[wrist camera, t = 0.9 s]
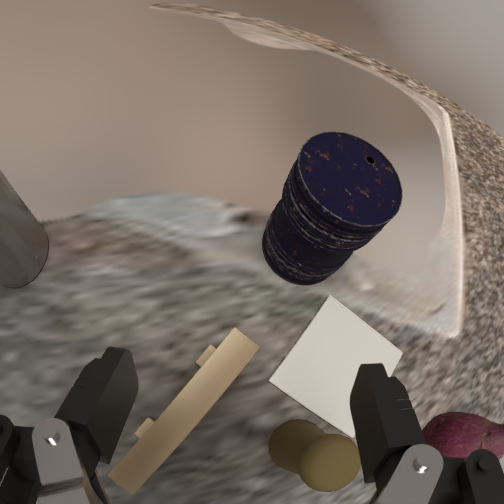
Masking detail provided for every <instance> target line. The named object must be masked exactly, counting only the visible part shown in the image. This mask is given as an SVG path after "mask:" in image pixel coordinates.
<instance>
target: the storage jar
mask: <svg viewBox="0 0 504 504" xmlns="http://www.w3.org/2000/svg"><path fill="white" fill-rule="evenodd" d="M401 203H402V187H401V183H400V179H399V177H398V175H397V172H396V170H395V169H394V167H393V166H392V164H391V163H390V161H389V160H388V159H387V158H386V157H385V156H384V155H383V154H382V153H381V152H380V151H379V150H378V149H377V148H376V147H374V146H373V145H371V144H370V143H368V142H366V141H365V140H363V139H361V138H359V137H357V136H354V135H351V134H347V133H343V132H324V133H320V134H317V135H315V136H313V137H311V138H310V139H309V140H307V141H306V142H305V144H304V145H303V147H302V149H301V151H300V153H299V155H298V158H297V160H296V162H295V163H294V164H293V166H292V168H291V170H290V173H289V175H288V178H287V180H286V182H285V184H284V188H283V193H282V199H281V200H280V201H279V202H278V204H277V205H276V207H275V209H274V210H273V212H272V214H271V216H270V218H269V220H268V223H267V227H266V229H265V232H264V235H263V240H262V248H263V253H264V256H265V259H266V261H267V263H268V264H269V266H270V267H271V269H272V270H273V271H274V272H275V273H276V274H277V275H278V276H280V277H281V278H283V279H284V280H286V281H288V282H290V283H293V284H297V285H313V284H317V283H319V282H321V281H323V280H325V279H326V278H327V277H328V276H329V275H331V274H333V273H334V272H336V271H337V270H338V269H339V268H340V267H341V266H342V265H343V264H344V263H345V261H347V260H348V259H349V257H350V256H351V255H352V253H353V251H355V250H357V249H359V248H361V247H363V246H364V245H366V244H367V243H368V242H369V241H370V240H371V239H372V238H373V237H375V236H376V235H377V234H378V233H379V232H380V231H381V230H382V228H383V227H384V226H385V225H386V224H387V223H388V222H389V221H390V220H391V219H392V218H393V217H394V216H395V215H396V214H397V212H398V211H399V209H400V206H401Z"/></svg>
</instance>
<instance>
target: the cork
mask: <svg viewBox="0 0 504 504" xmlns="http://www.w3.org/2000/svg"><path fill="white" fill-rule="evenodd" d="M269 453H270V456H271V458H272V460H273V461H274V462H275V463H276V464H277V465H278V466H280V467H282V468H284V469H286V470H289V471H291V472H294V473H296V474H299V475H300V477H301V479H302V480H303V481H304V482H305V483H306V484H307V485H308V486H309V487H310V488H312V489H315V490H317V491H323V492H332V491H336V490H339V489H341V488H343V487H345V486H347V485H348V484H349V483H350V482H351V481H352V480H353V479H354V478H355V477H356V475H357V473H358V472H359V468H360V465H361V460H360V455H359V449H358V447H357V446H356V444H355V443H354V442H353V441H352V440H351V439H349V438H347V437H345V436H343V435H338V434H326V433H325V432H324V431H322V430H321V429H320V428H318V427H317V426H316V425H314V424H313V423H311V422H309V421H307V420H301V419H296V420H290V421H288V422H285V423H283V424H282V425H280V426H279V427H278V428H277V429H276V430H275V431H274V433H273V434H272V436H271V438H270V442H269Z"/></svg>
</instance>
